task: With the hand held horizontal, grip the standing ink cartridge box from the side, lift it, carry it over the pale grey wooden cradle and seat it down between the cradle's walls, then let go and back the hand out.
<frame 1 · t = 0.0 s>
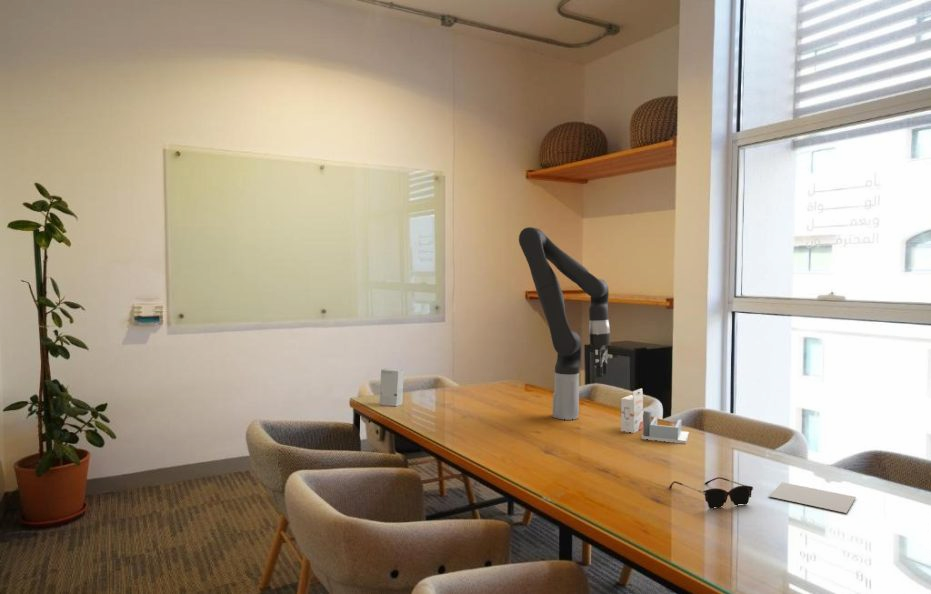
hand: (601, 375, 235), 17 cm above the table, tool pointing down, fingers open, 8 cm apart
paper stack: (834, 498, 156), on the table
skincare box: (391, 405, 262), on the table
keeper cradle: (665, 436, 213), on the table
ink cartridge box: (631, 430, 222), on the table
sunglasses: (707, 498, 156), on the table
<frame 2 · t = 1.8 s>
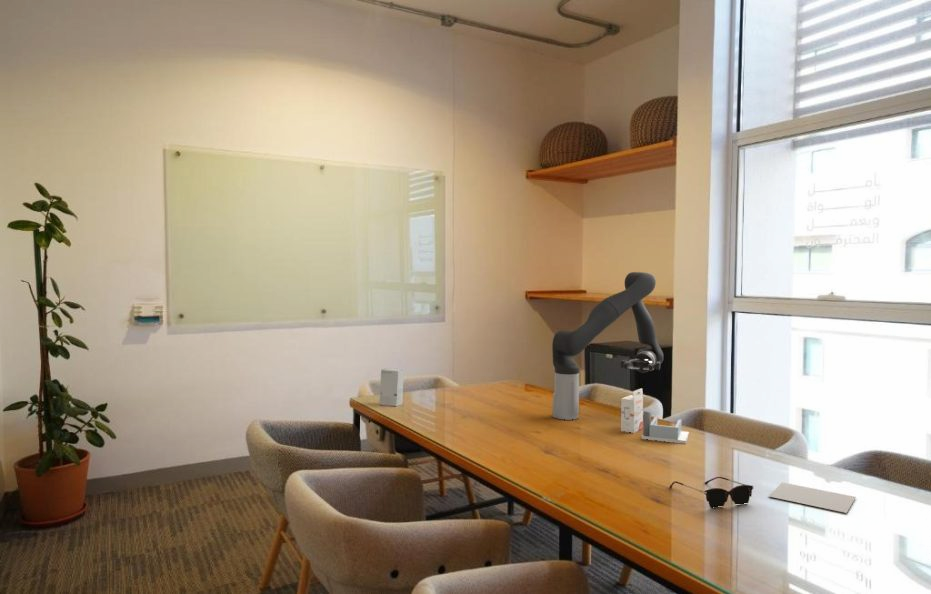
hand: (637, 367, 232), 21 cm above the table, tool horizontal, fingers open, 8 cm apart
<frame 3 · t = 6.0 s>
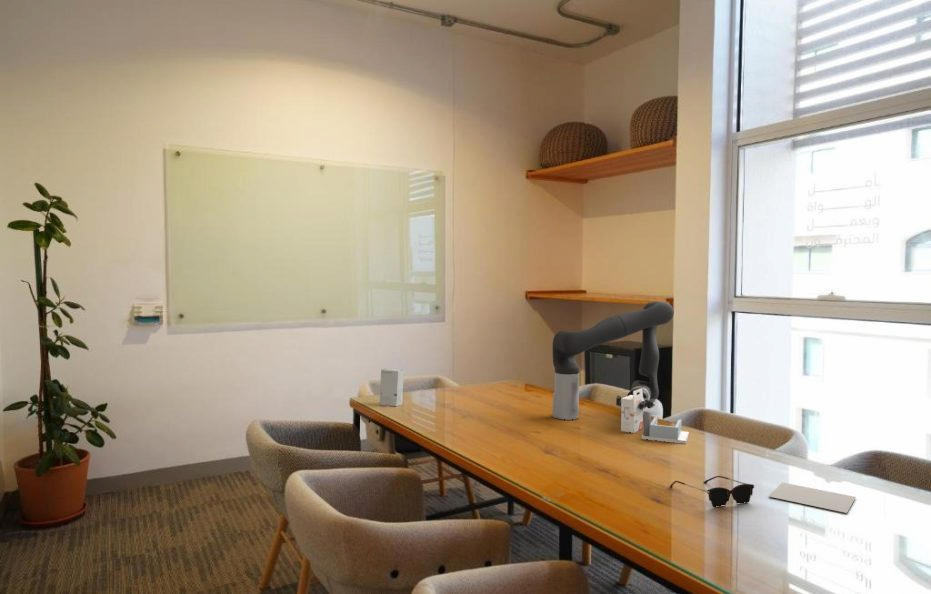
hand: (631, 405, 220), 9 cm above the table, tool horizontal, fingers closed on ink cartridge box, 6 cm apart
ink cartridge box: (631, 430, 222), on the table, touching gripper
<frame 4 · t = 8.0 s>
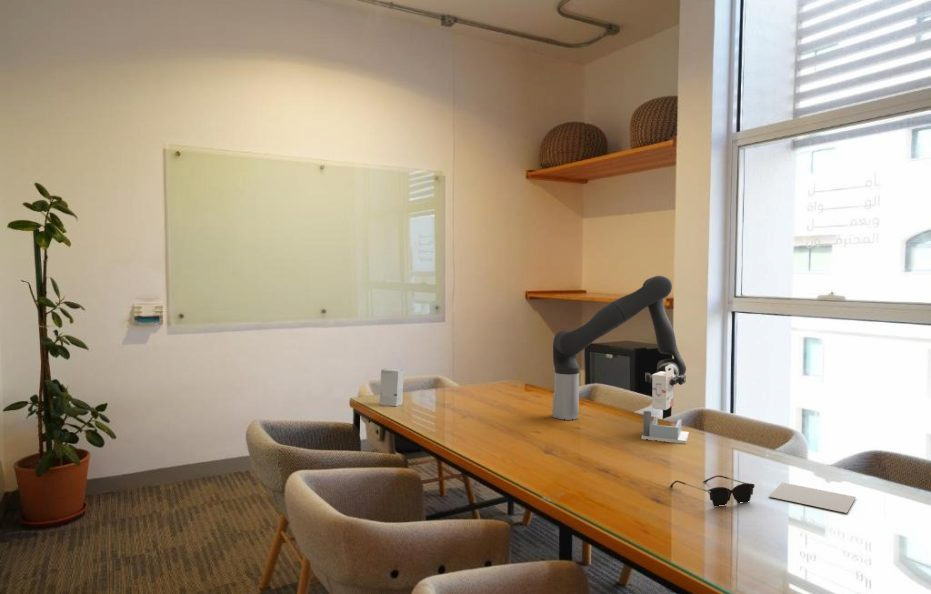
hand: (662, 381, 213), 19 cm above the table, tool horizontal, fingers closed on ink cartridge box, 5 cm apart
ink cartridge box: (662, 407, 215), point 9 cm above the table, touching gripper
when the fingers open (11 cm above the table, at t = 10.1 s): ink cartridge box drops 1 cm, resting on keeper cradle.
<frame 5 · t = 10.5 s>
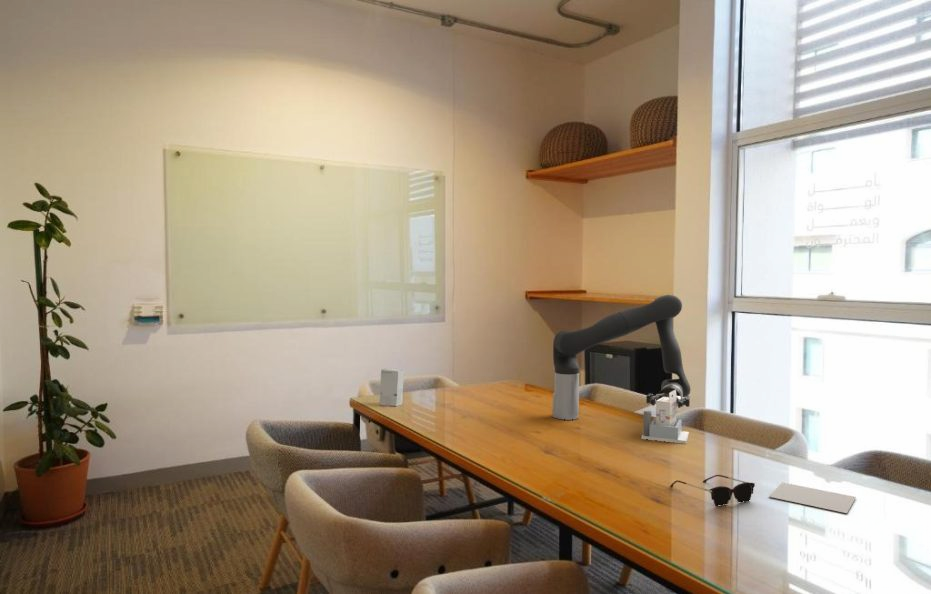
hand: (665, 403, 212), 12 cm above the table, tool horizontal, fingers open, 8 cm apart
ink cartridge box: (665, 434, 214), point 1 cm above the table, touching keeper cradle
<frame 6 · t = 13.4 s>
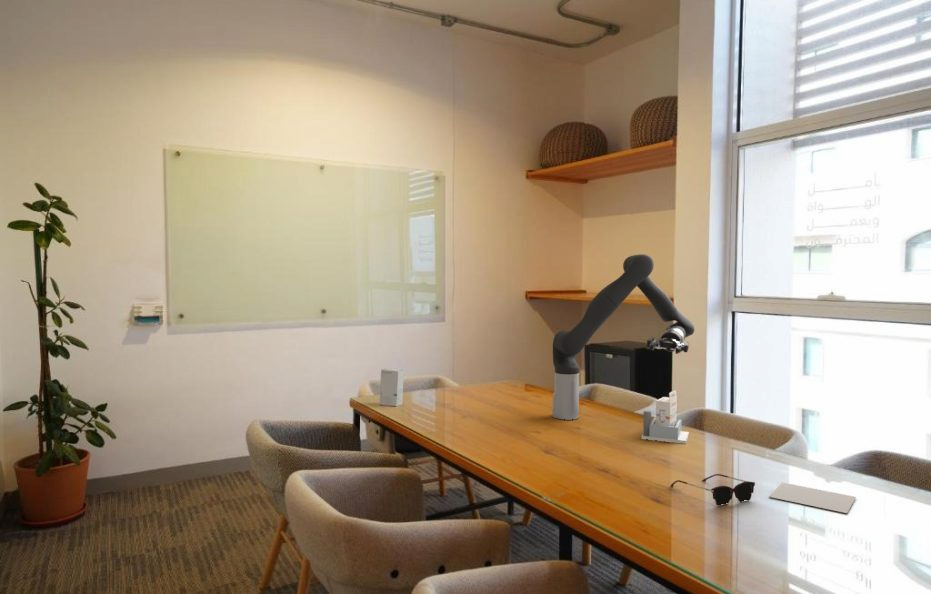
hand: (664, 349, 223), 29 cm above the table, tool horizontal, fingers open, 8 cm apart
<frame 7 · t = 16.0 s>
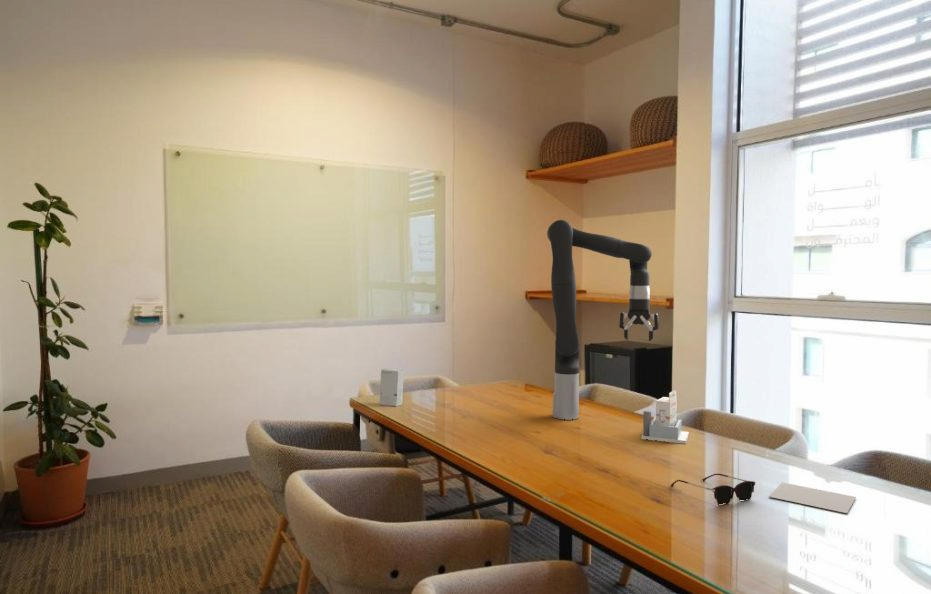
hand: (638, 340, 239), 30 cm above the table, tool pointing down, fingers open, 8 cm apart
at the end: ink cartridge box inside the target area (0.2 cm from its centre), point 0.8 cm above the table; ink cartridge box tilted 0°; the gripper is holding nothing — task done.
